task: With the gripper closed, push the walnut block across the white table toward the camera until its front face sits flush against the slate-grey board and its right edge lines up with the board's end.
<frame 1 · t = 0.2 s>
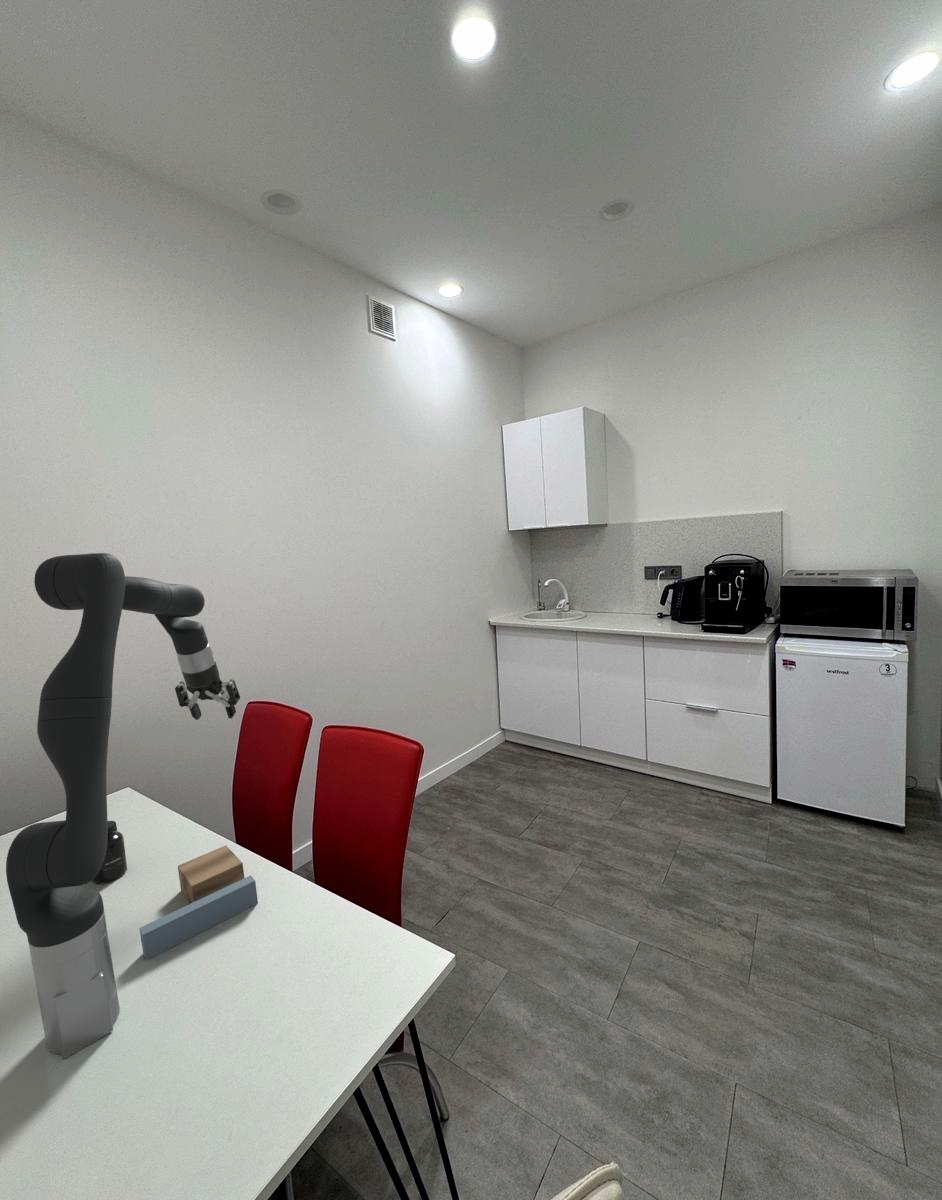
hand: (215, 717, 133), 30 cm above the table, tool tilted 20°, fingers open, 8 cm apart
walnut block: (213, 890, 113), on the table
slate board: (203, 926, 102), on the table
supplement bottle: (110, 876, 121), on the table
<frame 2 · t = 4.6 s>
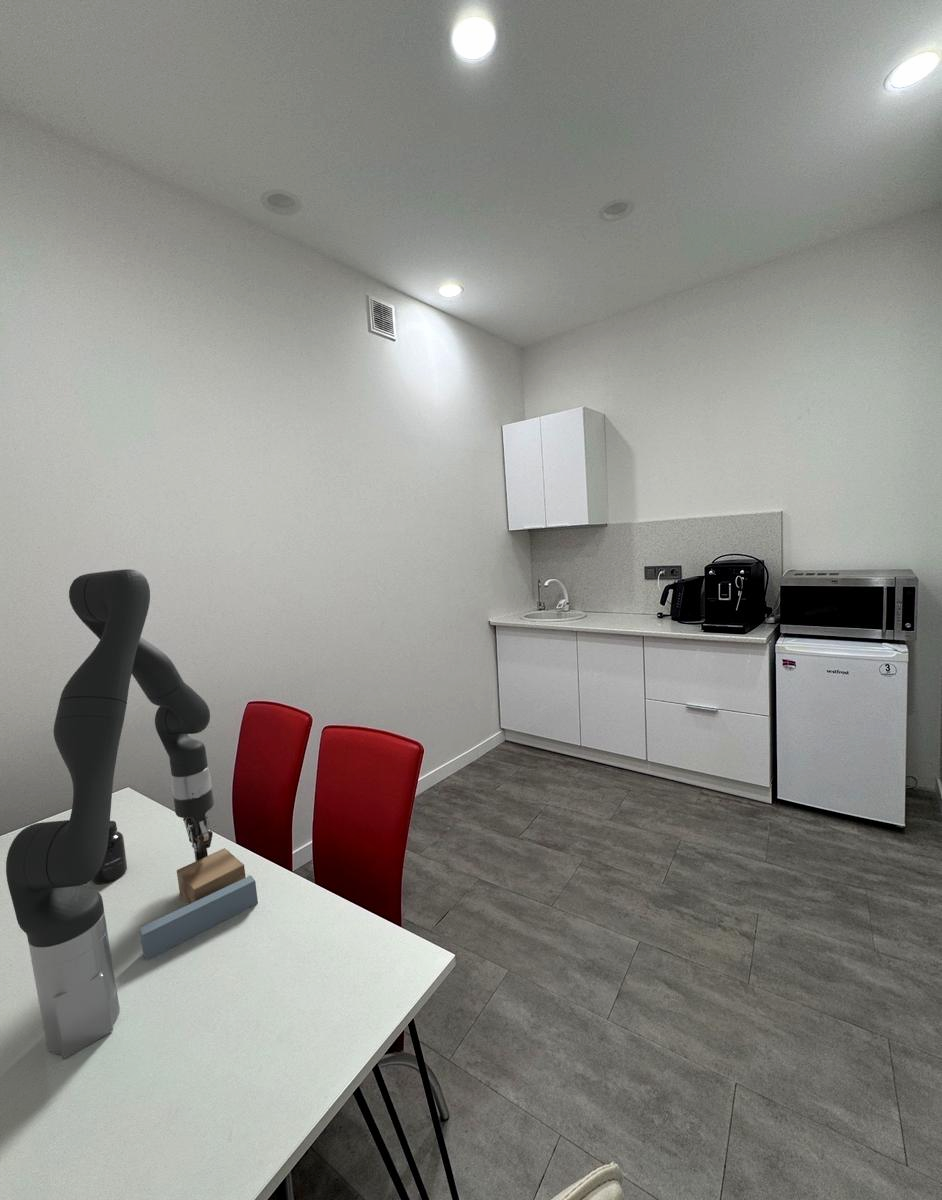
hand: (202, 863, 117), 4 cm above the table, tool pointing down, fingers closed
walnut block: (213, 893, 112), on the table, touching gripper
everything else where it was.
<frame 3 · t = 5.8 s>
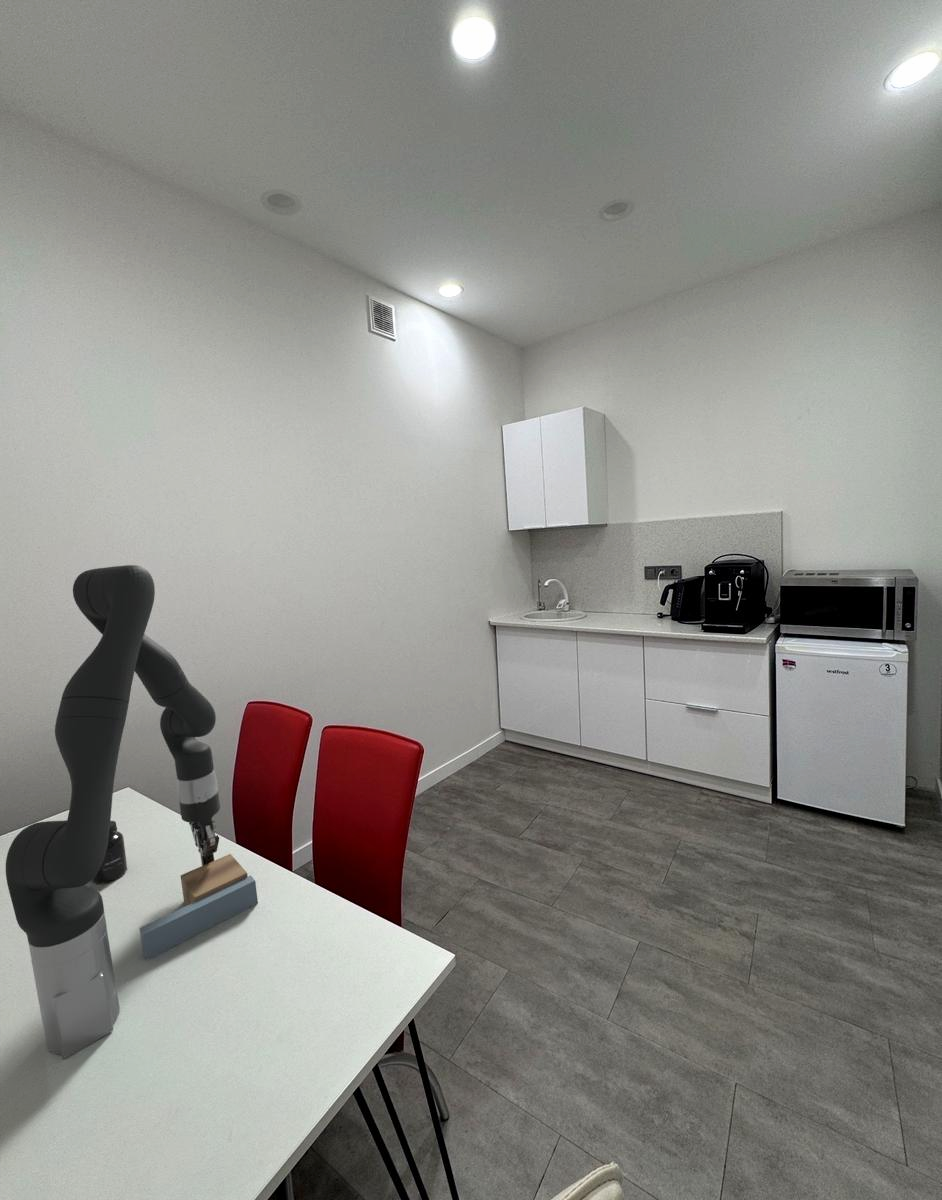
hand: (208, 867, 115), 4 cm above the table, tool pointing down, fingers closed
walnut block: (217, 900, 109), on the table, touching slate board
everything else where it was.
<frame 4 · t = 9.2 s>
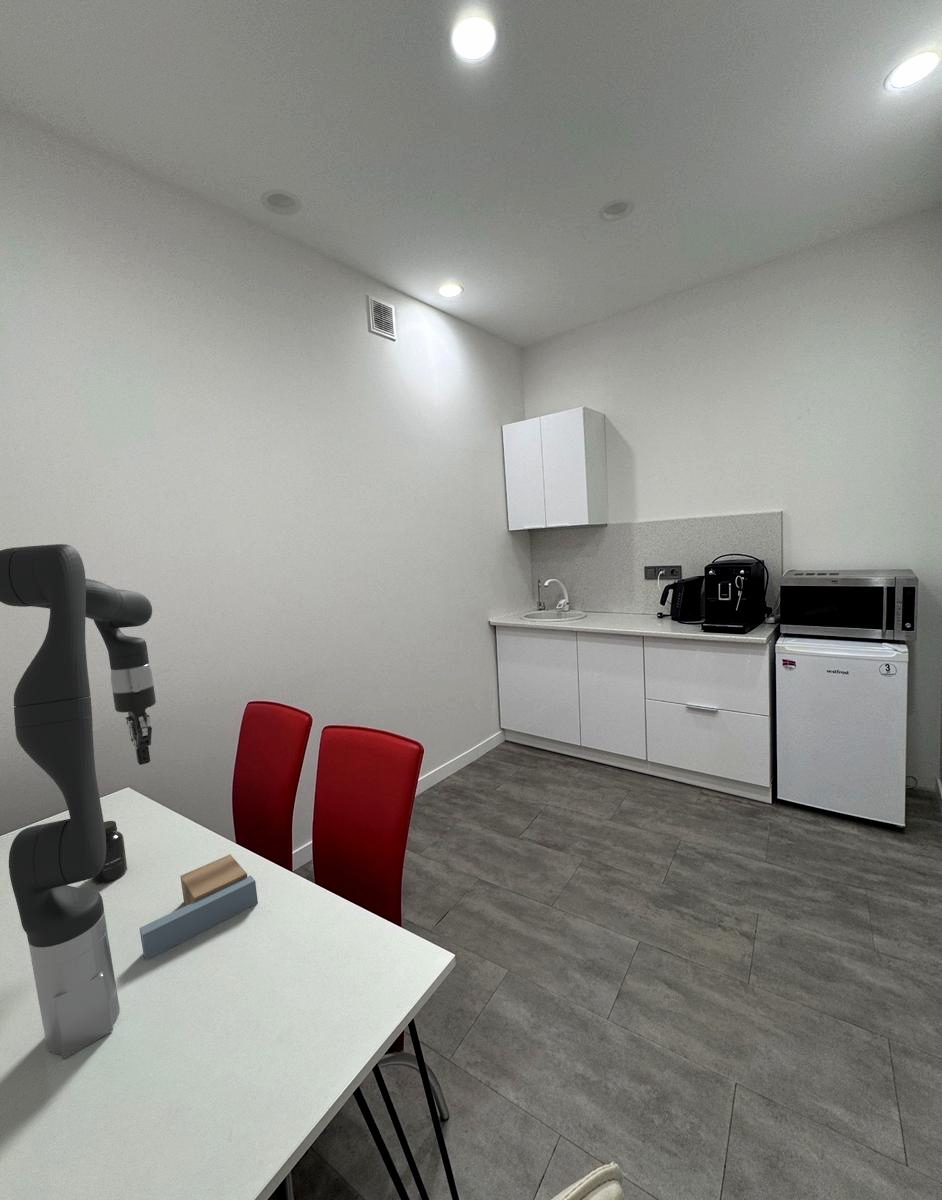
hand: (144, 762, 115), 27 cm above the table, tool pointing down, fingers closed
walnut block: (217, 901, 109), on the table
everything else where it was.
at the end: walnut block 0.6 cm from the target spot on the table beside the slate board, on the table; walnut block tilted 0° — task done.
